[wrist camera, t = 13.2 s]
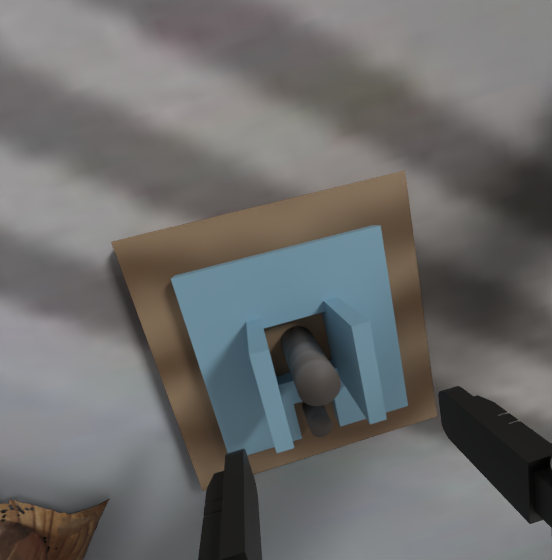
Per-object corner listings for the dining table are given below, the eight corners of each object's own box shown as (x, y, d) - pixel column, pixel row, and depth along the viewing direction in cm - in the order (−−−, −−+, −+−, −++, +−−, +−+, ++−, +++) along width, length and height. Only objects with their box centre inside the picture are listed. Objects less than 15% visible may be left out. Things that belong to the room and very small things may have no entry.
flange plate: (174, 275, 19) (146, 299, 13) (372, 225, 20) (429, 227, 14) (230, 448, 22) (228, 531, 16) (399, 396, 24) (455, 457, 17)
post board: (120, 240, 20) (52, 251, 13) (393, 174, 21) (474, 149, 14) (204, 474, 24) (190, 582, 17) (425, 405, 26) (499, 477, 19)
